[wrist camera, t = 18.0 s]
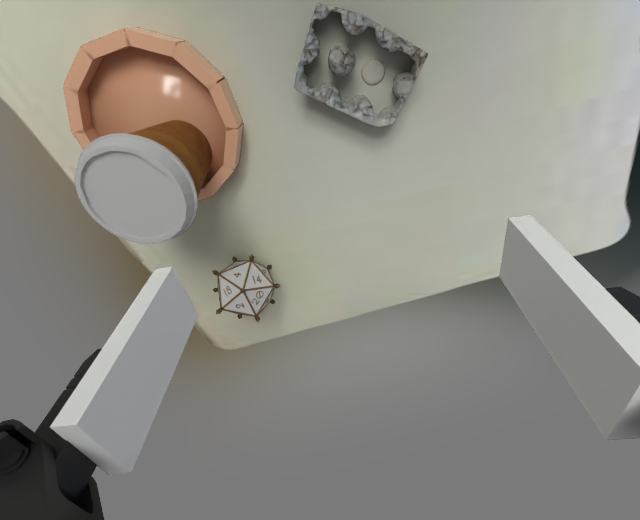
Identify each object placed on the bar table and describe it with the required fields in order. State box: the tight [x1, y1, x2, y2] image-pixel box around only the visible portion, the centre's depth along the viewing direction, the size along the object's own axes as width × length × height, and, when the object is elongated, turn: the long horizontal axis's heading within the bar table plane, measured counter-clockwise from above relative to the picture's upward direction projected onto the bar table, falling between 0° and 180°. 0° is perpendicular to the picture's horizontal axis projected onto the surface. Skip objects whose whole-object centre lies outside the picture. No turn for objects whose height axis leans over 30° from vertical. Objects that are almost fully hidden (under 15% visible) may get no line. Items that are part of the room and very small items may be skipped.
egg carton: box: [294, 4, 428, 127], centre depth 31 cm, size 11×8×4 cm
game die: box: [212, 254, 280, 322], centre depth 44 cm, size 9×8×10 cm
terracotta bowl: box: [63, 28, 243, 201], centre depth 35 cm, size 16×16×2 cm
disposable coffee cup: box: [75, 120, 212, 244], centre depth 32 cm, size 10×10×12 cm
